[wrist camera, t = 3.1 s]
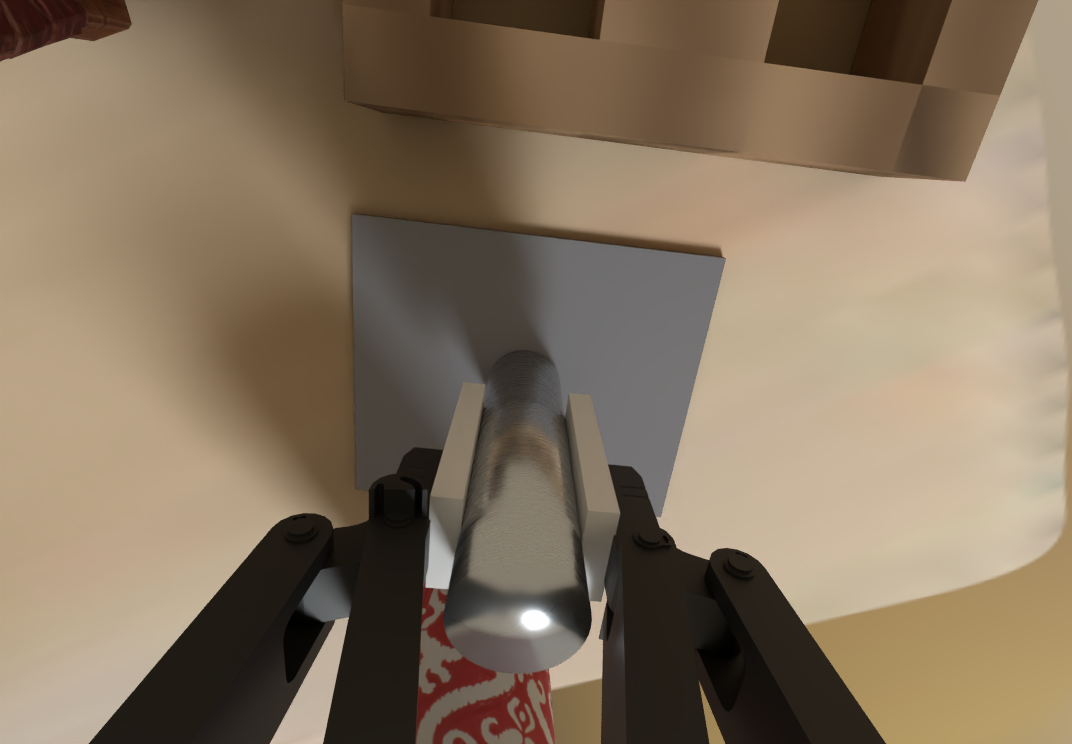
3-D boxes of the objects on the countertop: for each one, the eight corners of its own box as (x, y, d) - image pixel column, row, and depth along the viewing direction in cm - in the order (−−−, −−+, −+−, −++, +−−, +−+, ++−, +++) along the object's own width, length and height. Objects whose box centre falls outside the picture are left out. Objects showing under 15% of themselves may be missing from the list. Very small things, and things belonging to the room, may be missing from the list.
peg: (484, 412, 22) (439, 668, 11) (490, 346, 21) (447, 556, 10) (554, 419, 22) (579, 678, 11) (564, 354, 21) (602, 570, 10)
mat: (357, 485, 24) (355, 489, 24) (354, 213, 19) (351, 214, 19) (659, 512, 25) (660, 516, 24) (723, 257, 20) (725, 258, 20)
